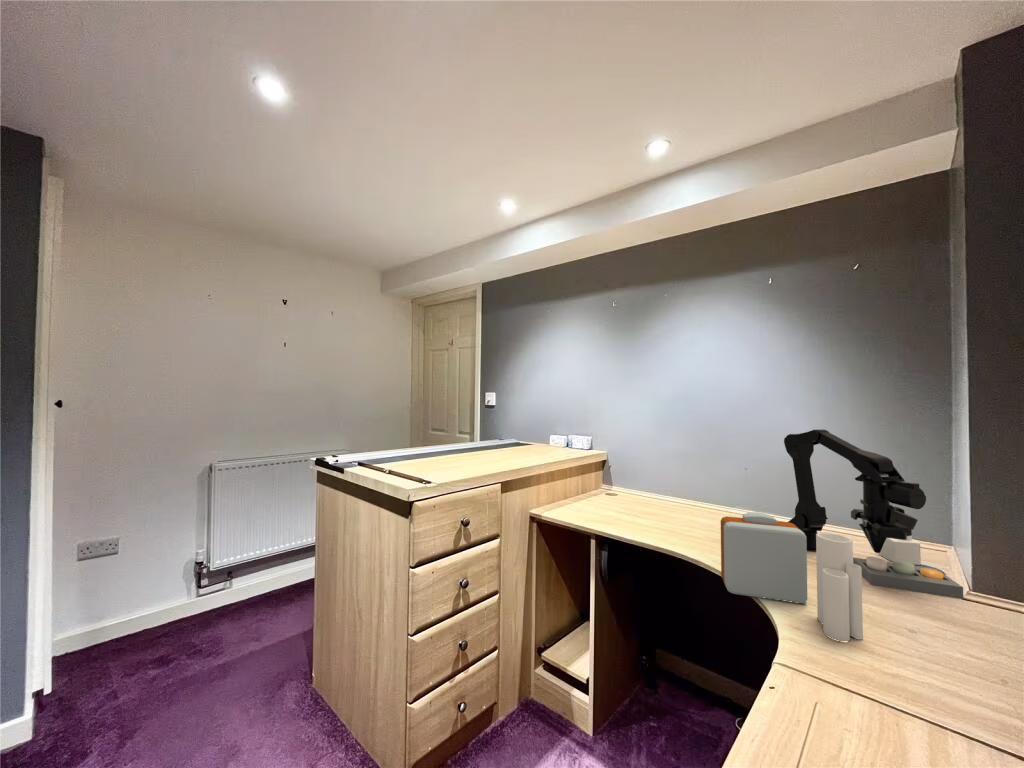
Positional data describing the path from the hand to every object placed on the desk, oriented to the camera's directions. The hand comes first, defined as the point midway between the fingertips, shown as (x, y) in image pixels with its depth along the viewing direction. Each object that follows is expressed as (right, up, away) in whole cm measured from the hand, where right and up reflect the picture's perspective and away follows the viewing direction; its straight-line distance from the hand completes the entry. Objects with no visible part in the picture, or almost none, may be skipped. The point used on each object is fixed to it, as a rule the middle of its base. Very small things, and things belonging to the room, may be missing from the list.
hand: (876, 552), depth 114 cm
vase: (-32, -7, -26) cm, 42 cm away
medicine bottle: (+19, -8, +12) cm, 24 cm away
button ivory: (0, -5, 0) cm, 5 cm away
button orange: (+11, -6, -5) cm, 13 cm away
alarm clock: (-39, -7, -8) cm, 41 cm away
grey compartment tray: (+5, -7, -3) cm, 9 cm away
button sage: (+5, -5, -3) cm, 8 cm away
